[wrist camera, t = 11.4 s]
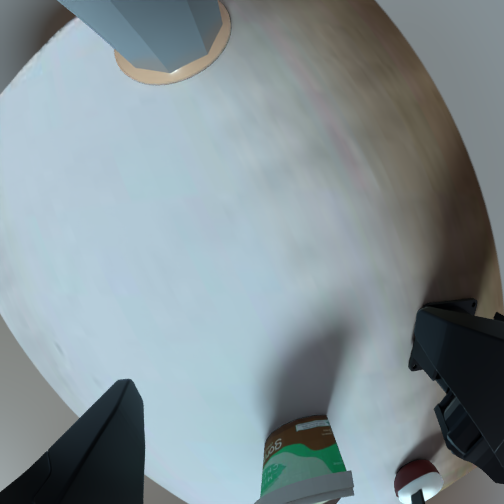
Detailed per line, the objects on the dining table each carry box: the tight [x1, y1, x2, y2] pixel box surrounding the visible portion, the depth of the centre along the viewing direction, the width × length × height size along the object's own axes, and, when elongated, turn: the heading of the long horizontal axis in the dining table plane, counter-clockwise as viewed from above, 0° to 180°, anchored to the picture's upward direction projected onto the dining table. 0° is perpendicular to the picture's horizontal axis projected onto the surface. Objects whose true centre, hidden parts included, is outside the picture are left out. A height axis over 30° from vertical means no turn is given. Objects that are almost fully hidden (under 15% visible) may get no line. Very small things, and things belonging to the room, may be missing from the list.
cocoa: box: [394, 460, 444, 504], centre depth 20 cm, size 10×6×12 cm, turn 28°
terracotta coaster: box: [114, 0, 231, 85], centre depth 16 cm, size 9×9×1 cm
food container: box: [254, 415, 354, 504], centre depth 19 cm, size 12×6×10 cm, turn 173°
